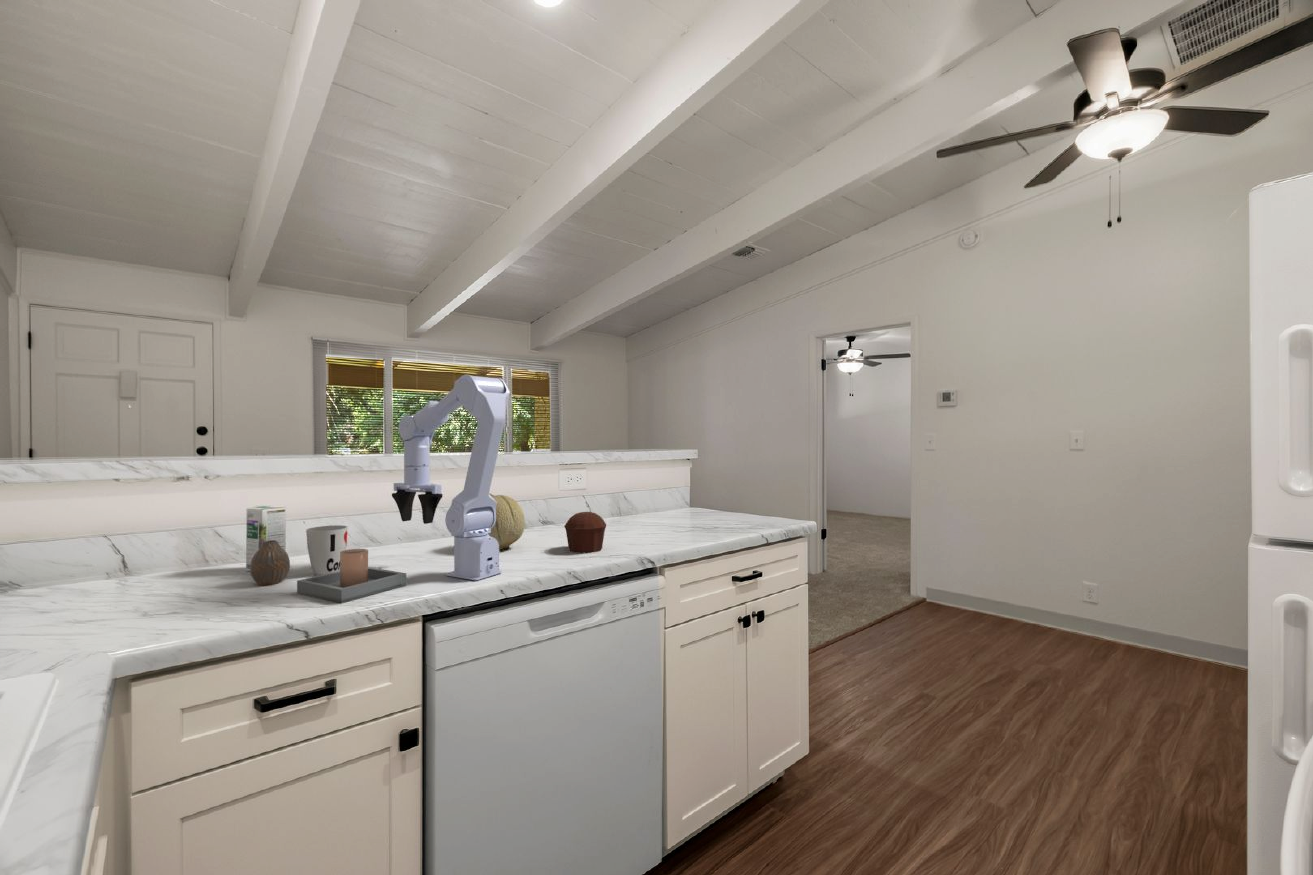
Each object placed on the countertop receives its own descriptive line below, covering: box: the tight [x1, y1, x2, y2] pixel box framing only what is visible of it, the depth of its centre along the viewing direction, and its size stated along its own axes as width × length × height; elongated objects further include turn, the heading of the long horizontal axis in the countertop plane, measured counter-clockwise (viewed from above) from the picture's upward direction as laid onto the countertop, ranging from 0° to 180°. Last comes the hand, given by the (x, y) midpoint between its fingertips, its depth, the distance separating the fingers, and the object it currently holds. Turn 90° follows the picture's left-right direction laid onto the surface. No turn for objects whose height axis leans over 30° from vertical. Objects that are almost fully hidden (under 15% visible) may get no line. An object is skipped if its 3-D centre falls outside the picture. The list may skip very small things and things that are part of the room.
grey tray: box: [296, 566, 407, 604], centre depth 115 cm, size 14×14×2 cm
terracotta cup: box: [340, 548, 369, 588], centre depth 115 cm, size 5×5×7 cm
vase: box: [249, 540, 291, 586], centre depth 120 cm, size 7×7×9 cm
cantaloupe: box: [488, 492, 526, 550], centre depth 155 cm, size 15×15×15 cm
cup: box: [305, 524, 349, 576], centre depth 129 cm, size 8×8×10 cm
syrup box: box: [245, 505, 287, 572], centre depth 131 cm, size 6×6×14 cm
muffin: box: [564, 511, 607, 554], centre depth 154 cm, size 12×11×10 cm
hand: (417, 521), depth 138 cm, fingers open, 7 cm apart
